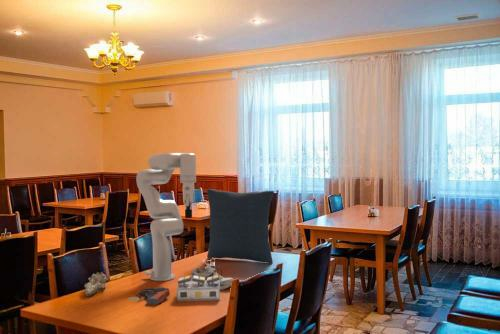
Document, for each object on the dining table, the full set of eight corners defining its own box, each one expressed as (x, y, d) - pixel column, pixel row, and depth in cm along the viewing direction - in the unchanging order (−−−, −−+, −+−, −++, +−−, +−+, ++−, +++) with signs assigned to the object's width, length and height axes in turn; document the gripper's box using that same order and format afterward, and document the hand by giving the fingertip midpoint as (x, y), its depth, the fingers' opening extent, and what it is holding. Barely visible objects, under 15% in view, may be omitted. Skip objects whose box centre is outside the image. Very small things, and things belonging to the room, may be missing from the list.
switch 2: (192, 281, 219) (192, 277, 219) (192, 278, 224) (193, 275, 224) (204, 283, 220) (205, 280, 220) (204, 280, 225) (205, 277, 224)
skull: (116, 276, 238) (100, 263, 238) (95, 296, 221) (78, 283, 222) (109, 288, 242) (93, 275, 242) (87, 309, 225) (70, 296, 226)
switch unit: (176, 301, 216) (176, 286, 215) (179, 293, 228) (179, 278, 228) (219, 300, 217) (219, 285, 216) (220, 292, 229) (219, 277, 228)
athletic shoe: (232, 290, 231) (232, 265, 233) (186, 289, 236) (187, 263, 238) (237, 289, 240) (238, 265, 243) (193, 288, 245) (194, 264, 248)
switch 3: (207, 283, 220) (206, 280, 220) (207, 280, 225) (206, 277, 225) (219, 280, 220) (218, 277, 220) (219, 277, 225) (218, 274, 225)
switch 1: (178, 284, 219) (177, 281, 219) (179, 281, 224) (178, 278, 224) (190, 280, 219) (189, 277, 219) (191, 278, 224) (190, 275, 224)
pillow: (278, 260, 293) (278, 188, 292) (270, 266, 278) (270, 191, 277) (212, 255, 308) (212, 187, 306) (202, 261, 293) (201, 189, 291)
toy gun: (158, 307, 211) (177, 293, 224) (156, 295, 210) (175, 282, 224) (126, 307, 218) (146, 294, 232) (124, 295, 218) (144, 283, 231)
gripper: (195, 180, 223) (195, 220, 223) (196, 178, 238) (197, 215, 238) (178, 180, 222) (179, 220, 223) (181, 178, 237) (182, 215, 238)
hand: (188, 217), depth 231 cm, fingers closed
